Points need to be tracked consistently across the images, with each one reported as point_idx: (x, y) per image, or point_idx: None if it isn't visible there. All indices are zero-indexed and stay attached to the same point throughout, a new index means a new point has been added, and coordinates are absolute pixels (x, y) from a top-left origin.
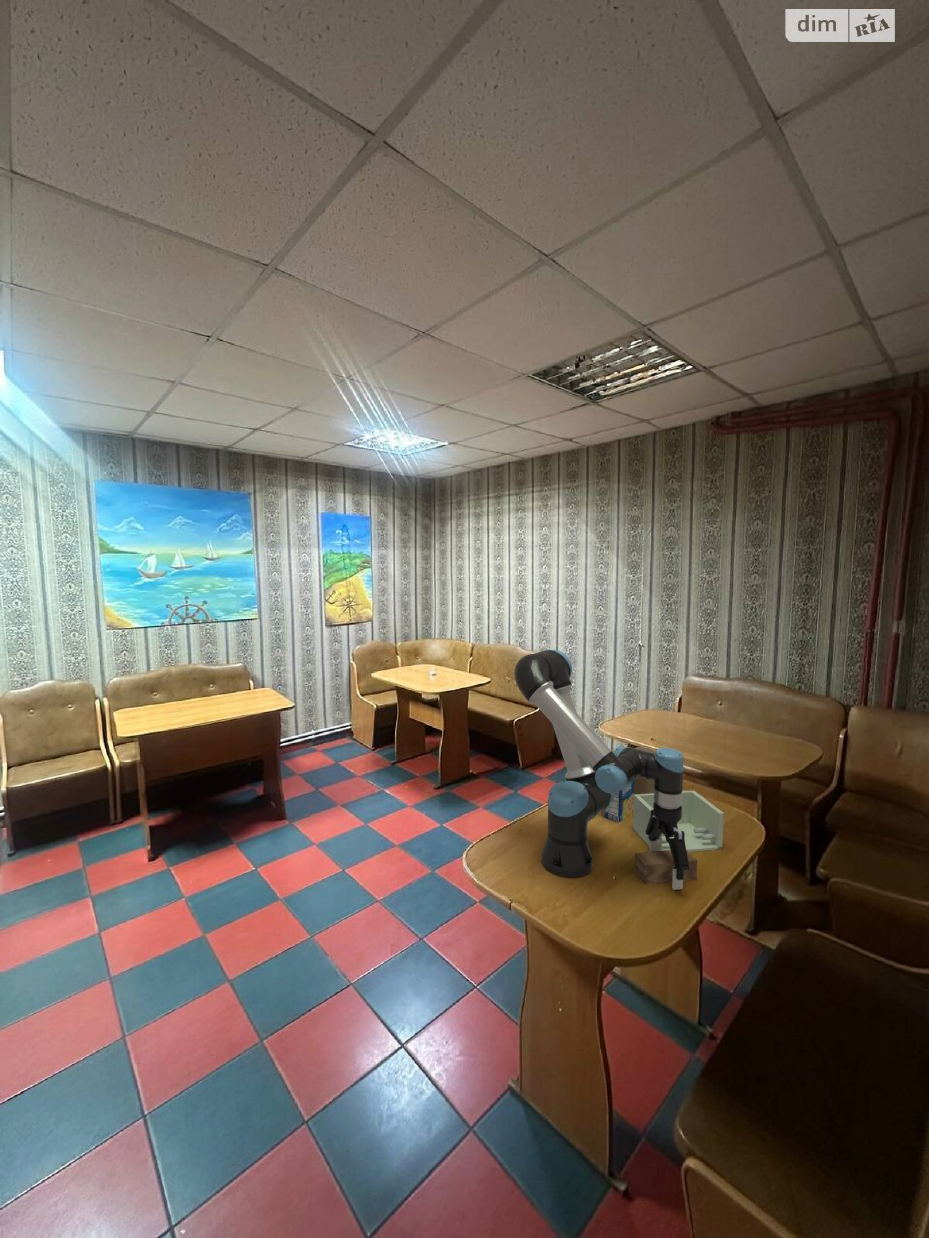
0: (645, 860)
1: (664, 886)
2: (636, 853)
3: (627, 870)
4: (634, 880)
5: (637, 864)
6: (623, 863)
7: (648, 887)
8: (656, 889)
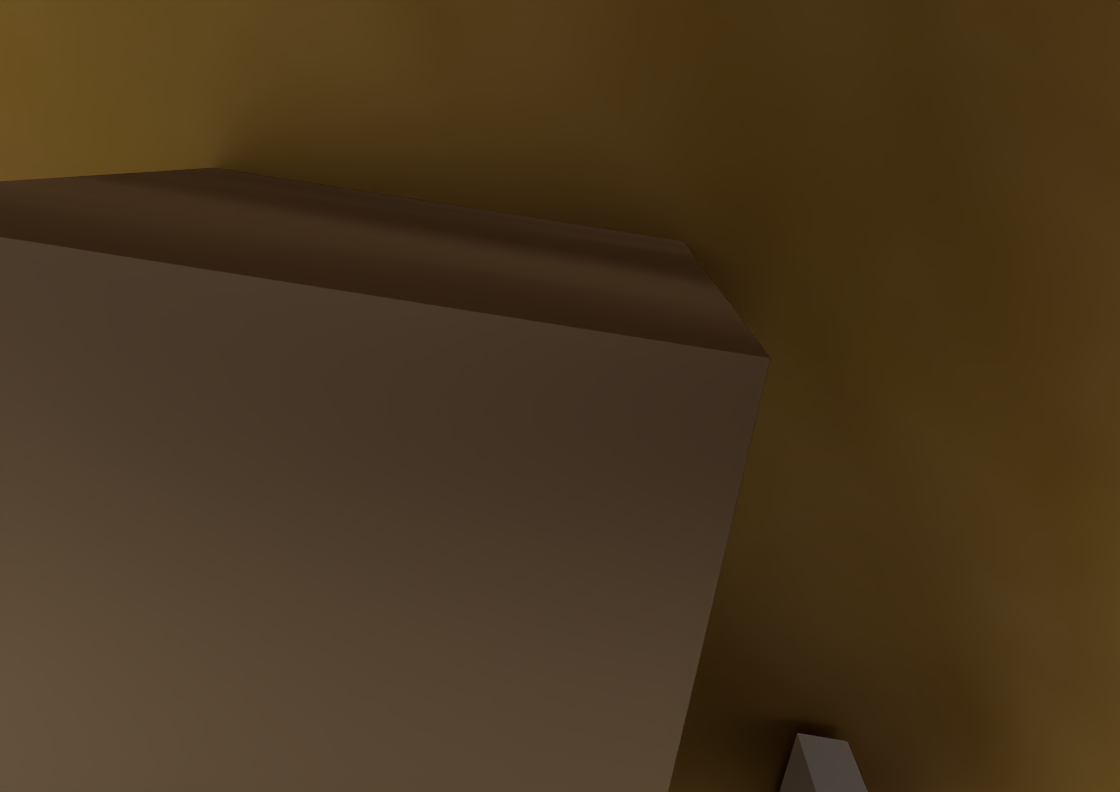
0: (109, 463)
1: None
2: (711, 430)
3: (776, 116)
4: (388, 37)
5: (494, 253)
6: (1052, 197)
7: None
8: None
